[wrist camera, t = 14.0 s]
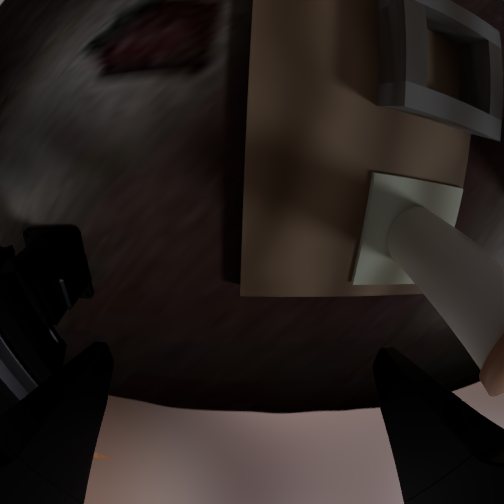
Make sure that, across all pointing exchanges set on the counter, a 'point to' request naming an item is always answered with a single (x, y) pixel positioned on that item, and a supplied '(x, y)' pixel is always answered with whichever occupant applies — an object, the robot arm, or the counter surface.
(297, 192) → the board
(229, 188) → the counter surface
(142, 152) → the counter surface
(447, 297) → the white cylinder brown top
